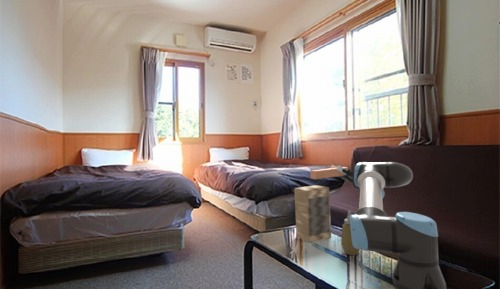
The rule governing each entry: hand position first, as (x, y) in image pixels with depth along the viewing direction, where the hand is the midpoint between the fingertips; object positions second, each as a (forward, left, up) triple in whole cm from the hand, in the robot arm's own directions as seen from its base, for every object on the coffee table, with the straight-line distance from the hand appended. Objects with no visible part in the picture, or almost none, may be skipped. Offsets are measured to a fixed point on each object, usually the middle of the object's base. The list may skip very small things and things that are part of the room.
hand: (334, 167), depth 153 cm
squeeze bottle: (-21, -20, -34) cm, 45 cm away
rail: (-3, +1, -5) cm, 6 cm away
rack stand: (-15, +4, -34) cm, 38 cm away
